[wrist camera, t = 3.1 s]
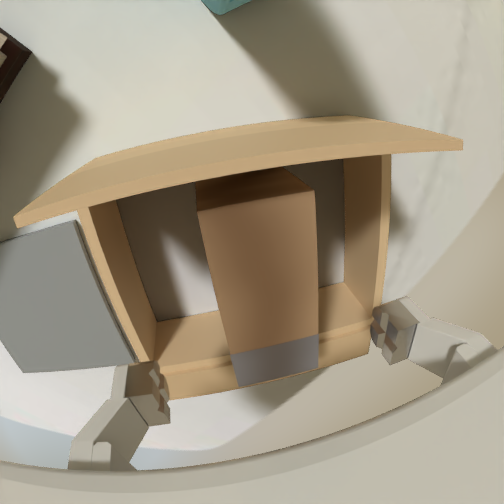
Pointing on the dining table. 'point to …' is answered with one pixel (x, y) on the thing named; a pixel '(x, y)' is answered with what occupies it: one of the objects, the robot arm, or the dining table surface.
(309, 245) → the box
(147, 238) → the dining table surface
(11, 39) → the decorative book
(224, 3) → the blue rounded block
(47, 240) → the mat
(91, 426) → the robot arm
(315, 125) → the drawer
